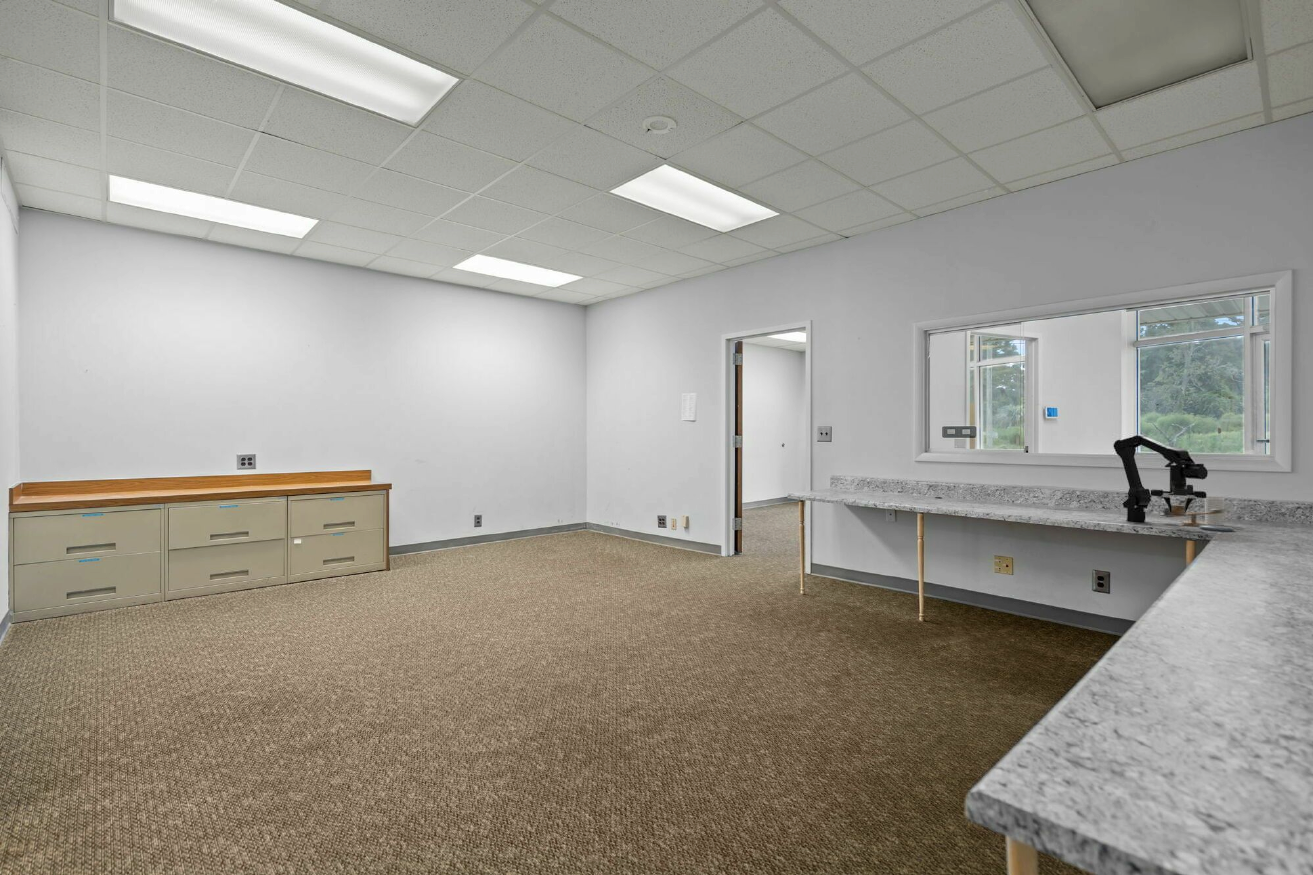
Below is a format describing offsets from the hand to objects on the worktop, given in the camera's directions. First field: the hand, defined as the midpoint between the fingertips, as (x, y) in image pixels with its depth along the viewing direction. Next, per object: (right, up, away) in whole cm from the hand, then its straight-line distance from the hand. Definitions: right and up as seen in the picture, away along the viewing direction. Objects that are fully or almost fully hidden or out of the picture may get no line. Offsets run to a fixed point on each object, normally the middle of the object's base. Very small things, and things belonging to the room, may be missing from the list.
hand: (1177, 512), depth 281 cm
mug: (+25, -7, +7) cm, 26 cm away
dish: (+10, -6, -8) cm, 14 cm away
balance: (+12, -6, +6) cm, 15 cm away
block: (0, -1, 0) cm, 1 cm away
